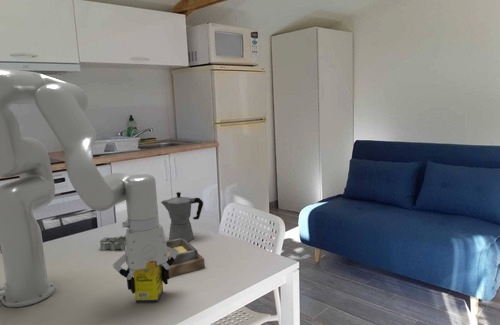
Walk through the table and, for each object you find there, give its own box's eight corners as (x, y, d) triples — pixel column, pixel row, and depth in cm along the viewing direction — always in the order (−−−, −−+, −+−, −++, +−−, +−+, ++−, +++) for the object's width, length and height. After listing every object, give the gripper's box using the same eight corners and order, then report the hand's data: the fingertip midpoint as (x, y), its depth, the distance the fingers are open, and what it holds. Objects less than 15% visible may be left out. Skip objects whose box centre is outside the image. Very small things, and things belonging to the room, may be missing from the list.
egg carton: (135, 243, 137) (134, 233, 137) (126, 251, 130) (125, 240, 129) (108, 243, 139) (107, 232, 138) (97, 251, 131) (96, 240, 131)
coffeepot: (161, 244, 135) (157, 196, 132) (166, 235, 144) (162, 189, 141) (204, 242, 135) (201, 194, 132) (206, 233, 145) (203, 188, 141)
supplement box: (158, 302, 96) (155, 262, 94) (135, 303, 96) (131, 263, 94) (163, 290, 102) (160, 253, 100) (142, 291, 102) (138, 253, 100)
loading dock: (153, 281, 107) (151, 263, 106) (140, 261, 121) (138, 245, 120) (204, 267, 115) (203, 251, 114) (186, 250, 129) (185, 235, 128)
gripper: (110, 234, 88) (117, 302, 91) (181, 220, 96) (185, 283, 99) (105, 225, 95) (112, 289, 98) (172, 213, 103) (176, 272, 106)
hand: (149, 286), depth 98 cm, fingers closed on supplement box, 8 cm apart
